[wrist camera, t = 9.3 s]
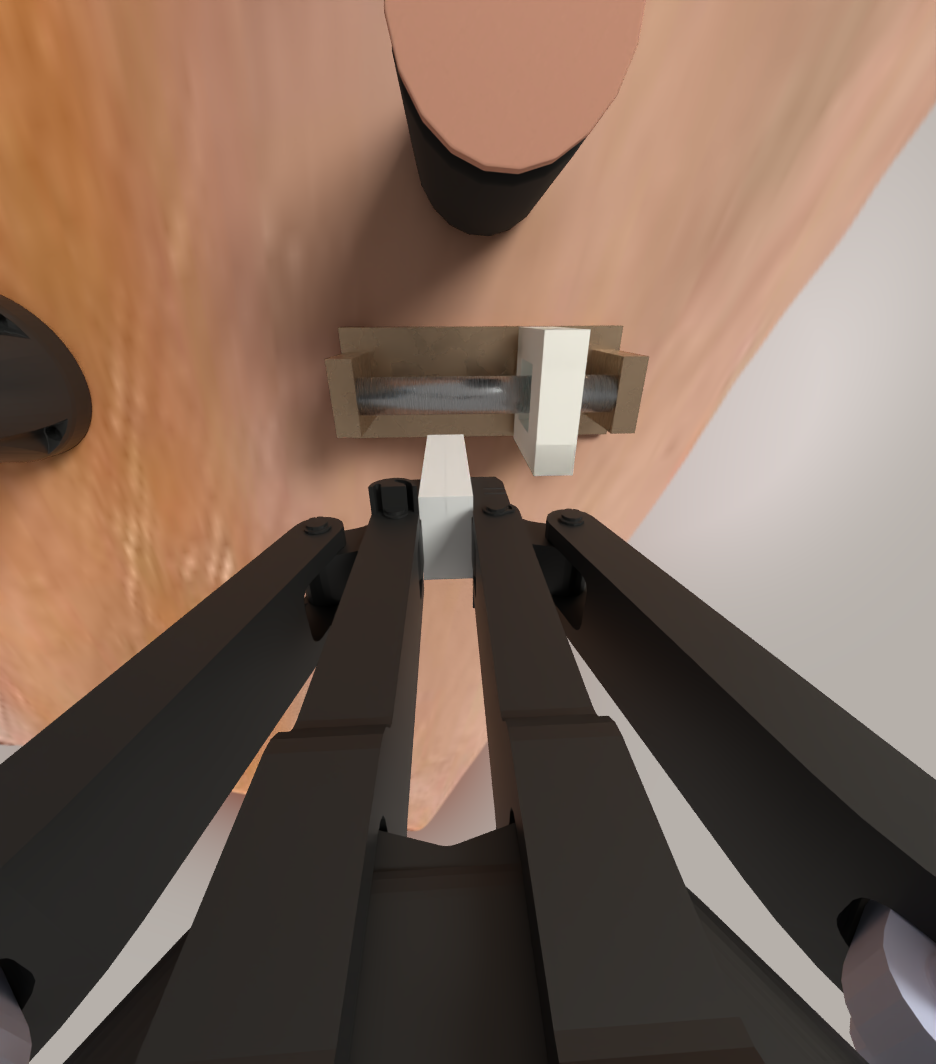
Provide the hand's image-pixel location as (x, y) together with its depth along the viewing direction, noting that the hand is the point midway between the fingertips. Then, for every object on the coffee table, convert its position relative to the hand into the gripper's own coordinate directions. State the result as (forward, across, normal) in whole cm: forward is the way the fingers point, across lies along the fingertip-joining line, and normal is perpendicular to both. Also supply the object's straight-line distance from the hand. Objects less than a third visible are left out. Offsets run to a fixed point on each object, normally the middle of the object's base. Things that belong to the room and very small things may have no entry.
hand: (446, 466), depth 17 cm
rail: (+25, +4, 0) cm, 26 cm away
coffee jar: (+26, +4, +17) cm, 31 cm away
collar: (+23, +8, 0) cm, 25 cm away
